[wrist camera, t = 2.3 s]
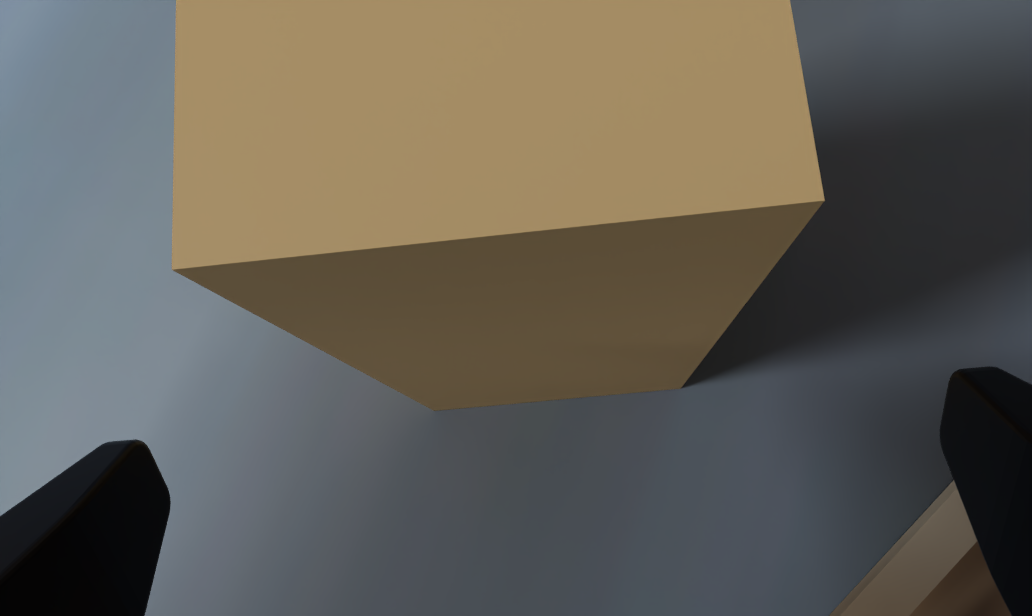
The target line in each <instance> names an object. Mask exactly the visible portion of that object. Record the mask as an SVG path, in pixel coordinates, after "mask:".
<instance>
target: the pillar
mask: <svg viewBox="0 0 1032 616" xmlns="http://www.w3.org/2000/svg"><path fill="white" fill-rule="evenodd" d="M824 201H825V199H824V193H823V188H822V182H821V176H820V171H819V165H818V159H817V153H816V148H815V142H814V136H813V130H812V125H811V119H810V113H809V108H808V102H807V96H806V90H805V85H804V79H803V73H802V68H801V62H800V56H799V50H798V45H797V39H796V33H795V27H794V22H793V16H792V10H791V5H790V0H176V43H175V105H174V166H173V227H172V270H173V271H175V272H177V273H179V274H181V275H183V276H185V277H186V278H188V279H190V280H192V281H194V282H196V283H198V284H199V285H201V286H203V287H205V288H207V289H209V290H211V291H212V292H214V293H216V294H218V295H220V296H222V297H224V298H225V299H227V300H229V301H231V302H233V303H235V304H237V305H238V306H240V307H242V308H244V309H246V310H248V311H250V312H252V313H253V314H255V315H257V316H259V317H261V318H263V319H265V320H266V321H268V322H270V323H272V324H274V325H276V326H278V327H279V328H281V329H283V330H285V331H287V332H289V333H291V334H292V335H294V336H296V337H298V338H300V339H302V340H304V341H305V342H307V343H309V344H311V345H313V346H315V347H317V348H318V349H320V350H322V351H324V352H326V353H328V354H330V355H331V356H333V357H335V358H337V359H339V360H341V361H343V362H344V363H346V364H348V365H350V366H352V367H354V368H356V369H357V370H359V371H361V372H363V373H365V374H367V375H369V376H370V377H372V378H374V379H376V380H378V381H380V382H382V383H383V384H385V385H387V386H389V387H391V388H393V389H395V390H397V391H398V392H400V393H402V394H404V395H406V396H408V397H410V398H411V399H413V400H415V401H417V402H419V403H421V404H423V405H424V406H426V407H428V408H430V409H432V410H434V411H438V410H449V409H460V408H471V407H482V406H493V405H504V404H516V403H527V402H538V401H549V400H560V399H571V398H582V397H593V396H604V395H615V394H626V393H637V392H648V391H659V390H670V389H681V387H682V386H683V385H684V384H685V382H686V381H687V380H688V378H689V377H690V376H691V374H692V373H693V372H694V370H695V369H696V368H697V367H698V365H699V364H700V363H701V361H702V360H703V359H704V357H705V356H706V355H707V353H708V352H709V351H710V350H711V348H712V347H713V346H714V344H715V343H716V342H717V340H718V339H719V338H720V337H721V335H722V334H723V333H724V331H725V330H726V329H727V327H728V326H729V325H730V323H731V322H732V321H733V320H734V318H735V317H736V316H737V314H738V313H739V312H740V310H741V309H742V308H743V307H744V305H745V304H746V303H747V301H748V300H749V299H750V297H751V296H752V295H753V293H754V292H755V291H756V290H757V288H758V287H759V286H760V284H761V283H762V282H763V280H764V279H765V278H766V276H767V275H768V274H769V273H770V271H771V270H772V269H773V267H774V266H775V265H776V263H777V262H778V261H779V260H780V258H781V257H782V256H783V254H784V253H785V252H786V250H787V249H788V248H789V246H790V245H791V244H792V243H793V241H794V240H795V239H796V237H797V236H798V235H799V233H800V232H801V231H802V230H803V228H804V227H805V226H806V224H807V223H808V222H809V220H810V219H811V218H812V216H813V215H814V214H815V213H816V211H817V210H818V209H819V207H820V206H821V205H822V203H823V202H824Z"/></svg>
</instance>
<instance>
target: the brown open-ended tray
mask: <svg viewBox="0 0 1032 616" xmlns="http://www.w3.org/2000/svg"><path fill="white" fill-rule="evenodd" d="M829 616H1011V614H1010V612H1009V610H1008V608H1007V606H1006V604H1005V602H1004V600H1003V598H1002V596H1001V594H1000V592H999V590H998V588H997V586H996V584H995V582H994V580H993V578H992V576H991V574H990V571H989V569H988V567H987V564H986V562H985V560H984V557H983V555H982V552H981V550H980V547H979V544H978V542H977V539H976V537H975V534H974V531H973V529H972V526H971V524H970V521H969V518H968V516H967V513H966V510H965V508H964V505H963V503H962V500H961V497H960V495H959V492H958V490H957V487H956V484H955V482H954V480H953V481H952V483H951V484H950V485H949V486H948V487H947V488H946V489H945V490H944V491H943V492H942V493H941V494H940V496H939V497H938V498H937V499H936V500H935V501H934V502H933V503H932V504H931V505H930V506H929V507H928V509H927V510H926V511H925V512H924V513H923V514H922V515H921V516H920V517H919V518H918V519H917V521H916V522H915V523H914V524H913V525H912V526H911V527H910V528H909V529H908V530H907V531H906V532H905V534H904V535H903V536H902V537H901V538H900V539H899V540H898V541H897V542H896V543H895V544H894V545H893V547H892V548H891V549H890V550H889V551H888V552H887V553H886V554H885V555H884V556H883V557H882V559H881V560H880V561H879V562H878V563H877V564H876V565H875V566H874V567H873V568H872V569H871V570H870V572H869V573H868V574H867V575H866V576H865V577H864V578H863V579H862V580H861V581H860V582H859V583H858V585H857V586H856V587H855V588H854V589H853V590H852V591H851V592H850V593H849V594H848V595H847V597H846V598H845V599H844V600H843V601H842V602H841V603H840V604H839V605H838V606H837V607H836V608H835V610H834V611H833V612H832V613H831V614H830V615H829Z"/></svg>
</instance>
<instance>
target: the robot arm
mask: <svg viewBox="0 0 1032 616" xmlns="http://www.w3.org/2000/svg"><path fill="white" fill-rule="evenodd" d="M940 442H941V447H942V450H943V453H944V456H945V458H946V461H947V464H948V466H949V469H950V471H951V474H952V477H953V479H954V482H955V484H956V487H957V490H958V492H959V495H960V497H961V500H962V503H963V505H964V508H965V510H966V513H967V516H968V518H969V521H970V524H971V526H972V529H973V531H974V534H975V537H976V539H977V542H978V544H979V547H980V550H981V552H982V555H983V557H984V560H985V562H986V564H987V567H988V569H989V571H990V574H991V576H992V578H993V580H994V582H995V584H996V586H997V588H998V590H999V592H1000V594H1001V596H1002V598H1003V600H1004V602H1005V604H1006V606H1007V608H1008V610H1009V612H1010V614H1011V616H1032V385H1031V384H1029V383H1027V382H1025V381H1023V380H1021V379H1019V378H1017V377H1015V376H1013V375H1012V374H1010V373H1008V372H1006V371H1004V370H1002V369H999V368H997V367H978V368H967V369H959V370H957V371H955V372H954V373H953V374H952V376H951V377H950V380H949V384H948V389H947V394H946V399H945V404H944V409H943V414H942V420H941V425H940ZM169 513H170V494H169V491H168V488H167V486H166V483H165V481H164V479H163V477H162V475H161V473H160V471H159V469H158V466H157V464H156V462H155V460H154V458H153V456H152V454H151V451H150V450H149V448H148V446H147V445H146V444H145V443H144V442H142V441H140V440H124V441H112V442H107V443H104V444H102V445H101V446H99V447H98V448H96V449H95V450H93V451H92V452H91V453H89V454H88V455H86V456H85V457H83V458H82V459H81V460H79V461H78V462H76V463H75V464H74V465H72V466H71V467H69V468H68V469H66V470H65V471H64V472H62V473H61V474H59V475H58V476H57V477H55V478H54V479H52V480H51V481H49V482H48V483H47V484H45V485H44V486H42V487H41V488H40V489H38V490H37V491H35V492H34V493H32V494H31V495H30V496H28V497H27V498H25V499H24V500H23V501H21V502H20V503H18V504H17V505H15V506H14V507H13V508H11V509H10V510H8V511H7V512H6V513H4V514H3V515H1V516H0V616H144V615H145V612H146V608H147V603H148V599H149V595H150V591H151V587H152V583H153V579H154V575H155V571H156V566H157V562H158V558H159V554H160V550H161V546H162V542H163V538H164V533H165V529H166V525H167V521H168V517H169Z"/></svg>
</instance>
